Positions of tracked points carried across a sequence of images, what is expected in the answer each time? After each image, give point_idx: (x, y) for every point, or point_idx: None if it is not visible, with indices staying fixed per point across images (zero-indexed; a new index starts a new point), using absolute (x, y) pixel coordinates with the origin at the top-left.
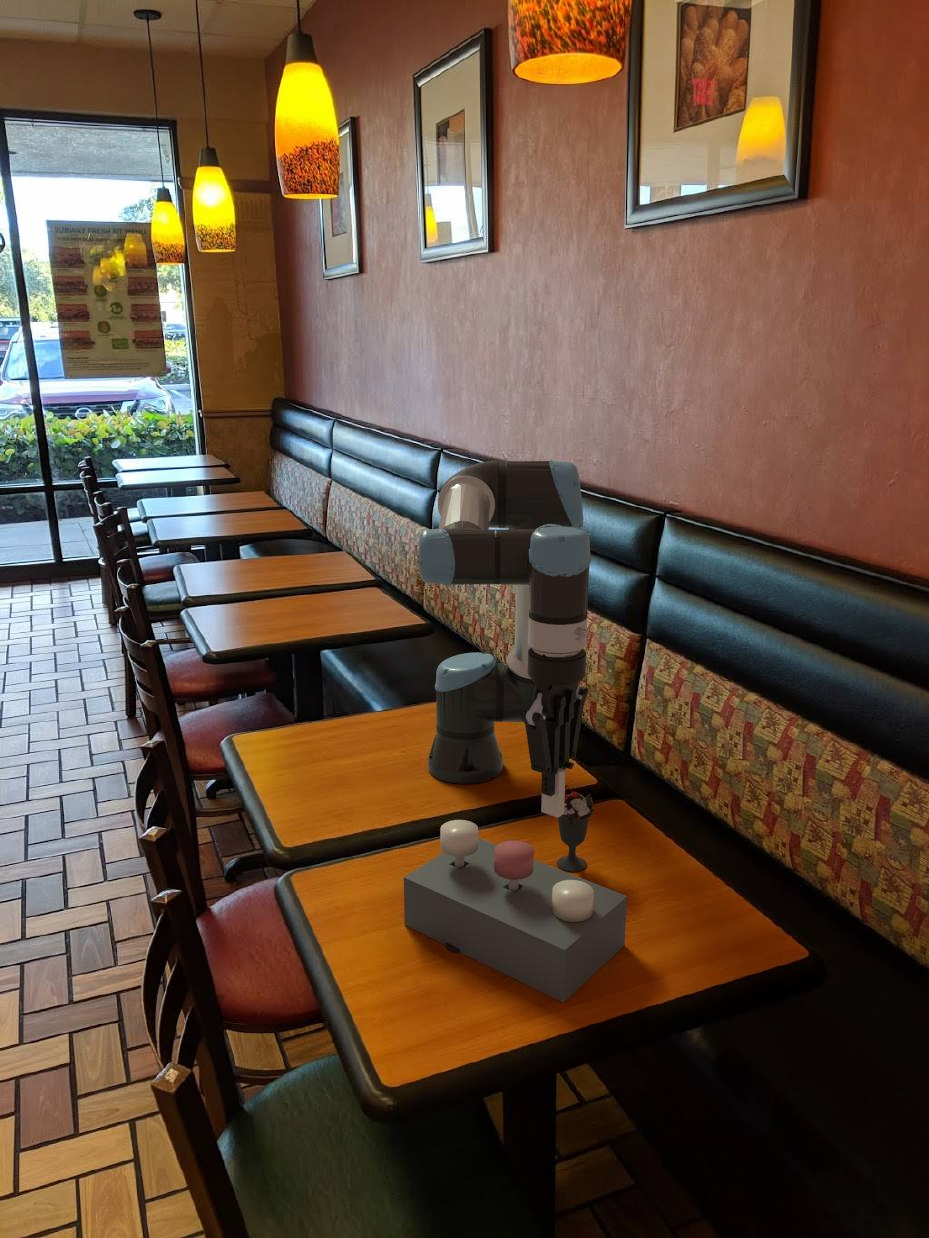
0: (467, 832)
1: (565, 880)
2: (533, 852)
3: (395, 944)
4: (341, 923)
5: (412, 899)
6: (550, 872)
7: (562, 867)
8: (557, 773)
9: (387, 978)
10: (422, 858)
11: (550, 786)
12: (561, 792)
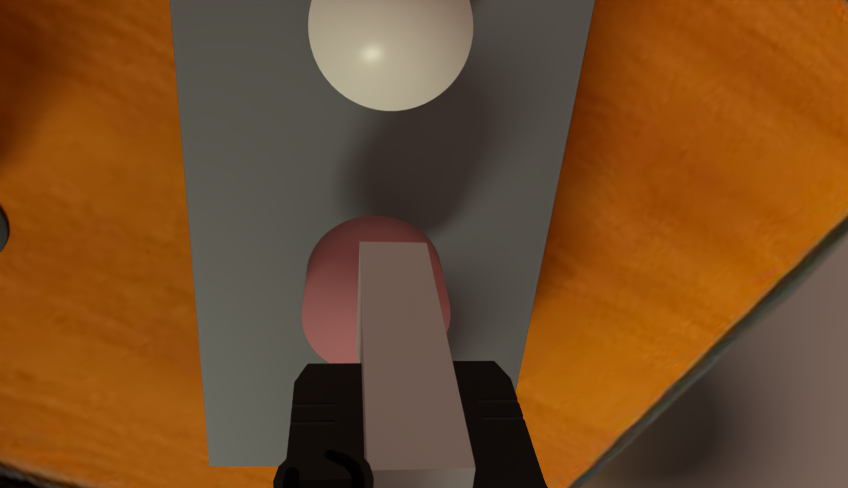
0: None
1: (342, 93)
2: (345, 259)
3: (546, 347)
4: (538, 454)
5: None
6: (223, 196)
7: (2, 232)
8: (472, 480)
9: (653, 294)
10: (238, 484)
11: (516, 418)
12: (409, 336)
